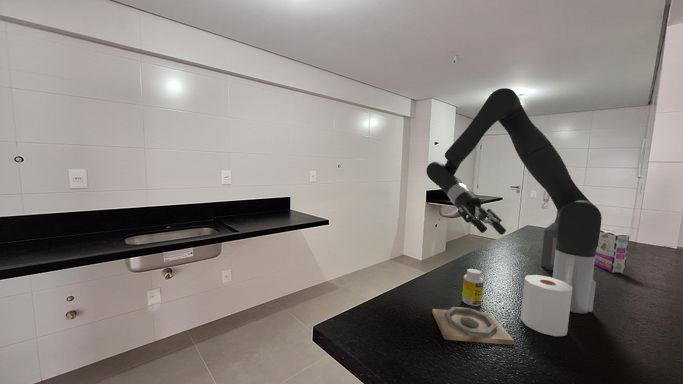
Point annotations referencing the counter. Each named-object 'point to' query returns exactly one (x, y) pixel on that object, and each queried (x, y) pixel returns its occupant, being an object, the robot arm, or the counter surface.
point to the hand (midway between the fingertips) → (494, 231)
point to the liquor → (550, 245)
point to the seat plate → (470, 326)
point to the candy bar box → (612, 251)
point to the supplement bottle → (472, 287)
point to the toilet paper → (546, 304)
